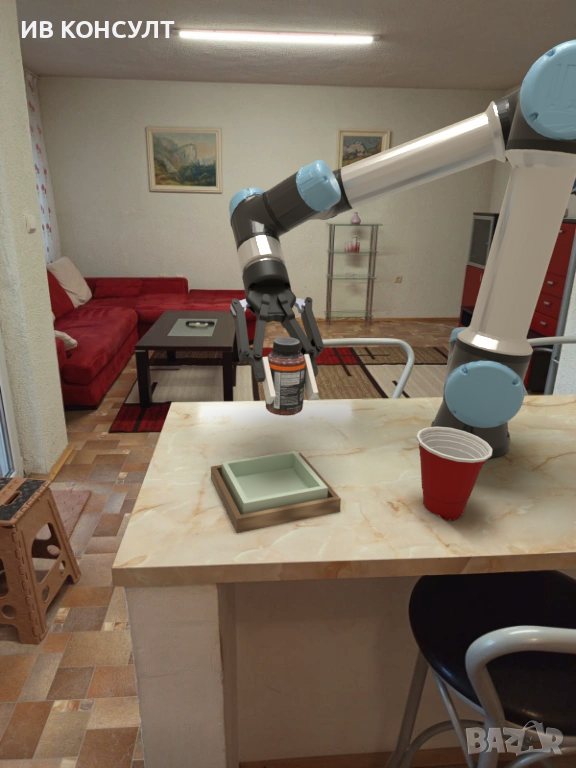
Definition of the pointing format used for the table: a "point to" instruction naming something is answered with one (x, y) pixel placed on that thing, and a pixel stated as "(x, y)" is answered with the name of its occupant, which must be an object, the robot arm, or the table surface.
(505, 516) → the table surface
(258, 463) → the grey-green crate
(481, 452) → the plastic cup
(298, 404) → the supplement bottle
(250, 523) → the walnut crate
